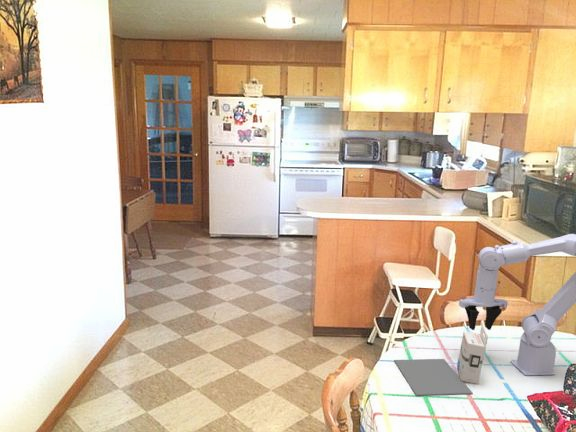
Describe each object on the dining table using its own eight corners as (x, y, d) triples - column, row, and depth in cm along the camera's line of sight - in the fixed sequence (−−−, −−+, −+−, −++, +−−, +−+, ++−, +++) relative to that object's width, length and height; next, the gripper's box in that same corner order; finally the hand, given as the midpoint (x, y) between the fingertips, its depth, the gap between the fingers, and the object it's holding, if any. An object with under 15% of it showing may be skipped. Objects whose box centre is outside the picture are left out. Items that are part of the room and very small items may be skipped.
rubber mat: (443, 360, 144) (444, 358, 144) (472, 394, 126) (472, 392, 126) (394, 361, 142) (394, 359, 142) (416, 396, 125) (416, 394, 124)
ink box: (456, 366, 140) (465, 320, 137) (473, 369, 139) (482, 323, 136) (460, 381, 132) (470, 333, 129) (478, 384, 131) (488, 336, 128)
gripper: (500, 282, 145) (494, 322, 148) (456, 282, 143) (451, 322, 146) (514, 290, 138) (507, 332, 141) (467, 290, 136) (462, 333, 139)
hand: (479, 328), depth 143 cm, fingers open, 5 cm apart
